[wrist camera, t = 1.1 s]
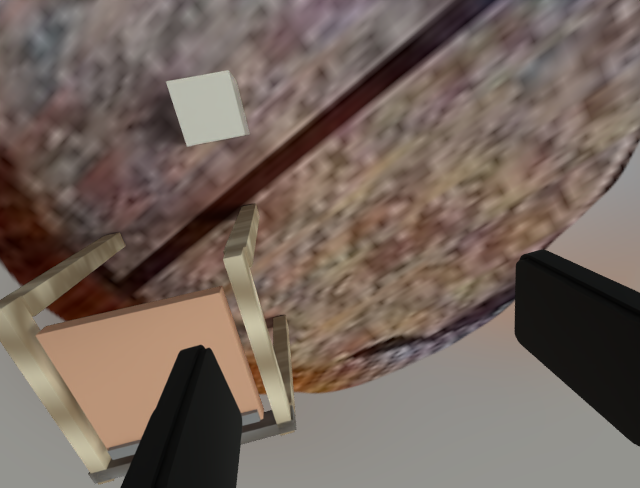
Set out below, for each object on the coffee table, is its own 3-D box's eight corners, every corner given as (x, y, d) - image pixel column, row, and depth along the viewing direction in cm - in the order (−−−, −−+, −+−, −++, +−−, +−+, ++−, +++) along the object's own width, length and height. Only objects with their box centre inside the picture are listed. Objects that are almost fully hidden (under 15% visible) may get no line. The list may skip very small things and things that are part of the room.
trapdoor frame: (104, 235, 33) (-23, 314, 19) (255, 203, 35) (244, 254, 20) (160, 356, 39) (96, 485, 25) (288, 325, 41) (296, 431, 26)
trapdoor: (45, 326, 21) (31, 338, 20) (221, 285, 22) (219, 294, 21) (118, 446, 25) (111, 462, 24) (263, 408, 26) (263, 422, 25)
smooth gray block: (185, 91, 30) (165, 81, 24) (236, 81, 30) (228, 70, 25) (201, 143, 32) (186, 146, 26) (249, 134, 32) (245, 135, 27)
